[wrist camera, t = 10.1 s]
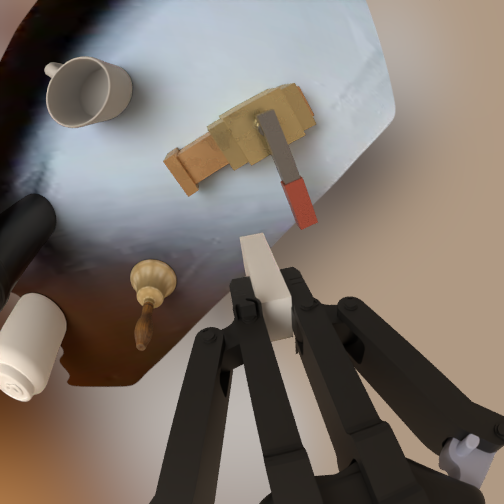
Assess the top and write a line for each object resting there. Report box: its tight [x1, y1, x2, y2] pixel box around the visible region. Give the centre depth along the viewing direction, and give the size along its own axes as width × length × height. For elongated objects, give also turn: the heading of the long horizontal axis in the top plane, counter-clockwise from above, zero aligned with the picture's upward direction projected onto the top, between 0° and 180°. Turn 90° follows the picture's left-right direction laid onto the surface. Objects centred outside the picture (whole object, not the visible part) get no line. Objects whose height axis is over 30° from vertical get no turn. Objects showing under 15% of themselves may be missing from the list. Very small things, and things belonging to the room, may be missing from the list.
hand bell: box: [130, 259, 177, 350], centre depth 42 cm, size 8×8×16 cm
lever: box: [255, 109, 318, 230], centre depth 35 cm, size 15×2×4 cm, turn 23°
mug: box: [45, 57, 132, 128], centre depth 28 cm, size 12×8×11 cm
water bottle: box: [0, 194, 56, 312], centre depth 30 cm, size 10×10×23 cm
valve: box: [163, 83, 316, 197], centre depth 37 cm, size 20×7×7 cm, turn 120°
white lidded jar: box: [0, 293, 66, 401], centre depth 40 cm, size 12×12×20 cm
